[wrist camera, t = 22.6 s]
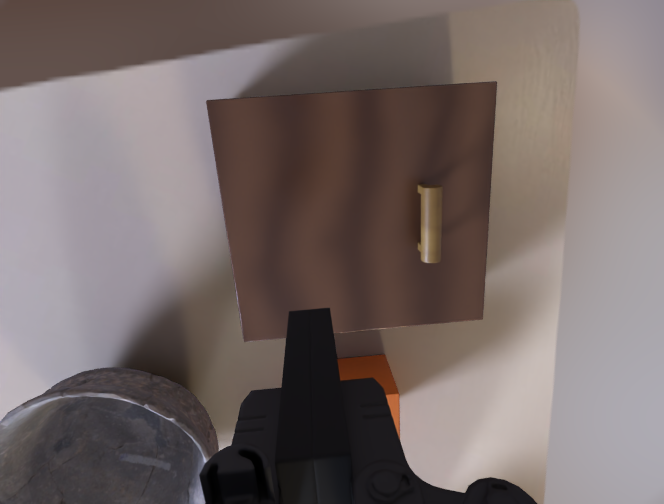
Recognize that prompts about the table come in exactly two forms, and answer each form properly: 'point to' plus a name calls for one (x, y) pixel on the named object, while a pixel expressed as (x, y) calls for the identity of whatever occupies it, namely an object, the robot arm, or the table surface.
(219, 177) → the lid
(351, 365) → the cube
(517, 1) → the table surface
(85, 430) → the bowl
